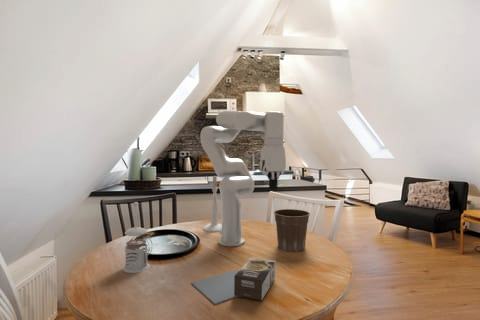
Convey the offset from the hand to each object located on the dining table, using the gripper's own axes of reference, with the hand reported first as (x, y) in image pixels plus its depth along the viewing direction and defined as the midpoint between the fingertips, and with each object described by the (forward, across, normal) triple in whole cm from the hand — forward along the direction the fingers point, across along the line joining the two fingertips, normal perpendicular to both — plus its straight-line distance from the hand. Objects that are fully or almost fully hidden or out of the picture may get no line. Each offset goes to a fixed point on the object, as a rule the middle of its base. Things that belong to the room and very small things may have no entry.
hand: (273, 188), depth 117 cm
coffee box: (+25, +13, +10) cm, 30 cm away
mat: (+29, +26, +8) cm, 40 cm away
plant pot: (+29, -17, -7) cm, 35 cm away
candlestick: (+30, -3, -53) cm, 61 cm away
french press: (+29, +47, -22) cm, 60 cm away
